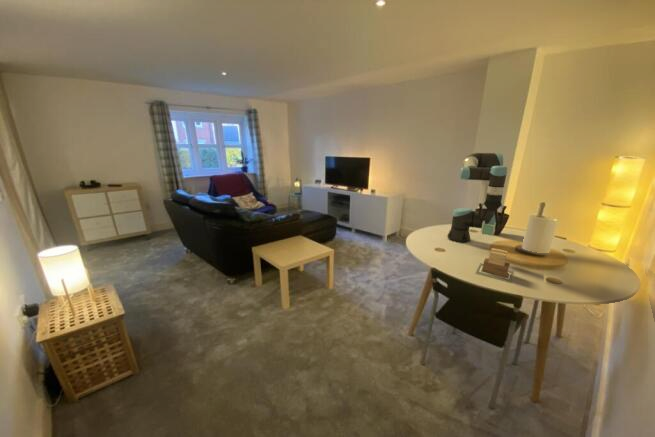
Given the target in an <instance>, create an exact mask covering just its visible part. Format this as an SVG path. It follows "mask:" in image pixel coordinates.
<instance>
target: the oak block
mask: <svg viewBox="0 0 655 437" xmlns="http://www.w3.org/2000/svg"><path fill="white" fill-rule="evenodd" d="M507 255H508V251H507V250H503V249H499V248H493V247H492V248H491V249H490V251H489V261H488V263H492V264H496V265H500V266H504V265H505V262H506V261H507Z"/></svg>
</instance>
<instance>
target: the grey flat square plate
mask: <svg viewBox="0 0 655 437" xmlns="http://www.w3.org/2000/svg"><path fill="white" fill-rule="evenodd" d="M483 264H484V263H482V262H481V263H479V265H478V267H477V269H476V271H475V272H474V274H476V275H478V276H483V277H486V278H490V279H494V280H498V281H501V282H505V283H509V284H512V283H513V277H514V274H515V271H514V270H511V269H508V274H507V278H506V277H502V276H498V275H495V274H491V273H487V272H483V271H482V270H483Z"/></svg>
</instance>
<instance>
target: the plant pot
mask: <svg viewBox="0 0 655 437" xmlns="http://www.w3.org/2000/svg"><path fill="white" fill-rule="evenodd" d="M501 212H502V211H501ZM501 212H499V211H498V219H499V221H500V218H501ZM509 218H510V214H508V213H505V212H504V217H503V222H502V223H499V224H498V228H497V229H495V232H494V234H492V236H500V235H501V233H502V231H503V230H504V228H505V227H506V225H507V224H508V221H509ZM495 223H496V222H495Z"/></svg>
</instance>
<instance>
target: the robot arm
mask: <svg viewBox="0 0 655 437" xmlns="http://www.w3.org/2000/svg"><path fill="white" fill-rule="evenodd" d="M507 175H508V166H505V165H504V157H503V154H502V153H497V152H475V153H470V154H468V155H467V156H465V158H463V160H462V167H461V169H460V175H459V176H460V177H459V178H460V179H461V180H465V181H469V180H470V181H481V182H480V188H479V189H480V190H479V199H478V206H477V207H476V208H475V210H473V209H472V208H471V207H460V208H459V207H458V208H455V209H454V210H453V213H452V219H451V225H450V226H451V227H450V230H449V231H448V234H447V236H446V238H447V237H448V238H449V239H450V240H449V239H448V238H447V239H448V240H449V241H451V240H452V241H451V242H454V241H455V243H459V242H460V243H461V244H463V243H464V244H465V243H470V241H471V234H470V228H474V229H477V228H478V229H480V233H482V230H483V225H484V224H490V225H494V227H493V232H492V234H494V232H495V229H497V228H498V224H499V223H502V222H503V217H504V213H505V211H506V209H507V208H508V207H507V205H503V204H502V200H503V194H504V190H505V183H506V178H507ZM498 209H501V218H500V221H499V219H498V212H499V211H498ZM495 222H496V223H495Z"/></svg>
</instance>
